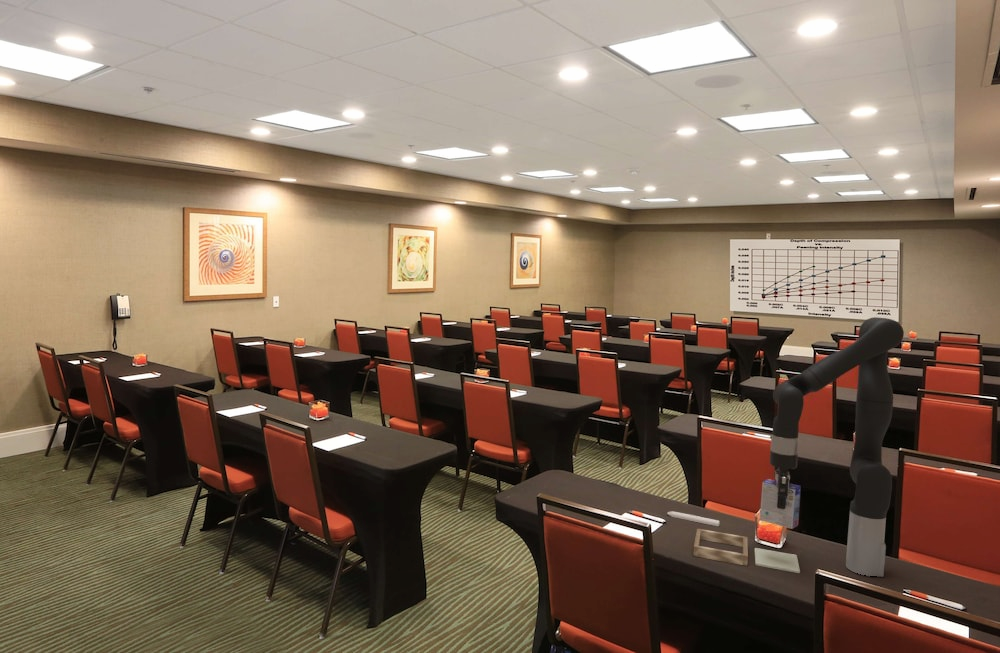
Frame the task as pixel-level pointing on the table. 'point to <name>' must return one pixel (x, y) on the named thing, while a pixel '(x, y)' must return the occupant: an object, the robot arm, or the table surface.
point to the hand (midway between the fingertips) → (780, 504)
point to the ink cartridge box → (769, 505)
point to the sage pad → (776, 560)
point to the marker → (694, 518)
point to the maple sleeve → (721, 554)
